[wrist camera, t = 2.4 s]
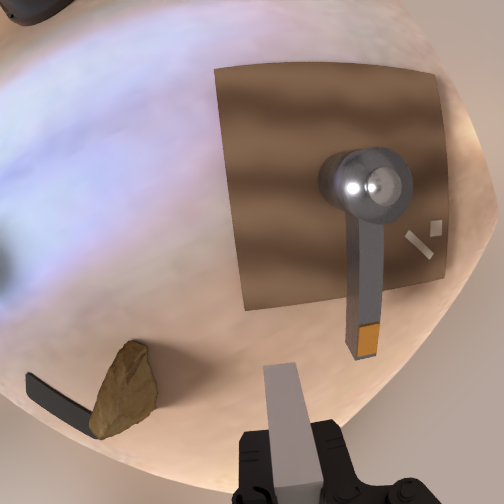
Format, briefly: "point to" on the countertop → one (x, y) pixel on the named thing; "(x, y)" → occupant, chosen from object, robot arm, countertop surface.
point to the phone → (58, 404)
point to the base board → (307, 169)
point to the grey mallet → (365, 230)
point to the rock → (124, 393)
